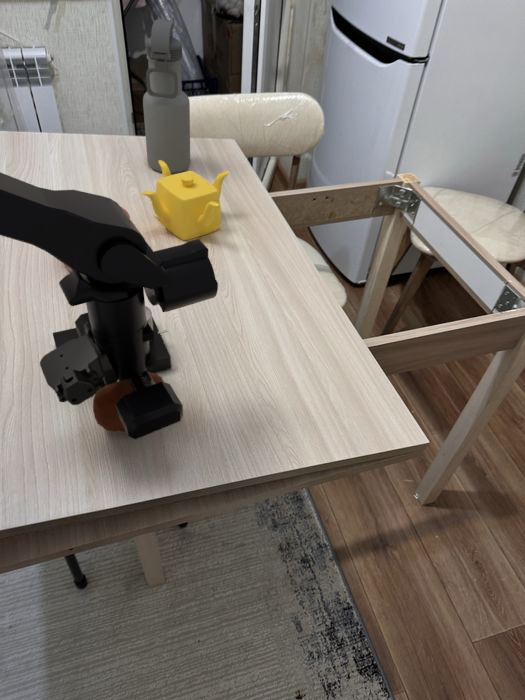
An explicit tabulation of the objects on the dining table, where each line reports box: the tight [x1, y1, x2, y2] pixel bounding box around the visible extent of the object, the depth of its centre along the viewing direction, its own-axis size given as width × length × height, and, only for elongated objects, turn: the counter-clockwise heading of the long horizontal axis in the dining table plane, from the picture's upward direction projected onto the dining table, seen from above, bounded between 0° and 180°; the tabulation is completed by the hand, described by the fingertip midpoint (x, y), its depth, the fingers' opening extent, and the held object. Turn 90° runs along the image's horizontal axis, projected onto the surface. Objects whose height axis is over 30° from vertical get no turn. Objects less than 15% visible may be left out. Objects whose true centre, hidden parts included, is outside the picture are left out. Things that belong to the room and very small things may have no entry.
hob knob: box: [145, 305, 153, 344], centre depth 67 cm, size 4×4×5 cm
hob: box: [52, 316, 172, 389], centre depth 69 cm, size 15×10×3 cm, turn 115°
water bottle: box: [142, 18, 191, 174], centre depth 103 cm, size 10×10×28 cm
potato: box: [92, 372, 165, 433], centre depth 60 cm, size 7×9×6 cm
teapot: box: [140, 160, 230, 241], centre depth 93 cm, size 15×14×10 cm
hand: (132, 409), depth 62 cm, fingers closed on potato, 7 cm apart
